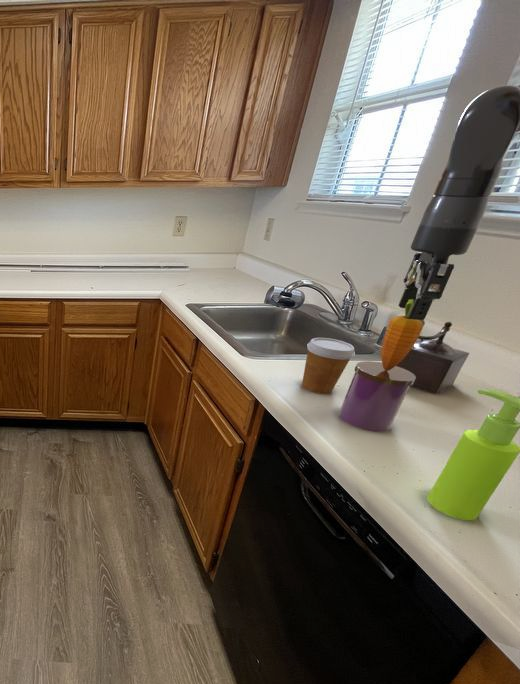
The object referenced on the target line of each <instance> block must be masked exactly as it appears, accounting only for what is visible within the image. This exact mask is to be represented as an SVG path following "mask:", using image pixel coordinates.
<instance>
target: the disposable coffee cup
mask: <svg viewBox="0 0 520 684" xmlns="http://www.w3.org/2000/svg"><path fill="white" fill-rule="evenodd" d="M306 347H307V352H306V353H307V354H306V359H305V365H304V371H303V376H302V382H301V387H303V388H304V389H305V390H307V391H310V392H312V393H316V394H322V395H327V394H328V395H329V394H331V393H332V392H333V390H334V388H335V387H336V385H337V383H338V381H339V380H340V378H341V376H342V374H343V372H344V370H345V369H346V367H347V366H348V364H349V362H350V360H351V359H352V358H353V357H354V356H355V355H356V353H355V347H354V346H353V345H352V344H351V343H348V342H346V341H343V340H339V339H335V338H328V337H314V338H311V340H310V341H309V342H308V343H307V344H306Z"/></svg>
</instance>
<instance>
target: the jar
mask: <svg viewBox="0 0 520 684" xmlns="http://www.w3.org/2000/svg"><path fill="white" fill-rule="evenodd" d="M415 379H416V376H415V375H414V374H413V373H411V372H410V371H408V370H405V369H403V368H400V367H397V366H395V367H394V368H392V369H391V370H388V371H385V370H384V368H383V365H382V361H369V360H367V361H366V360H365V361H364V360H363V361H359V362H357V363H356V364H355V367H354V374H353V377H352V379H351V382H350V385H349V387H348V388H347V392H346V394H345V397H344V400H343V402H342V405H341V407H340V410H339V412H338V416H339V418H340V419H341V420H342V421H344V422H345V423H347V424H349V425H351V426H353V427H356V428H358V429H362V430H365V431H370V432H376V433H383V432H388V431H389V430H390V429H391V427H392V425H393V423H394V422H395V419H396V416H397V415H398V412H399V410H400V408H401V406H402V404H403V402H404V400H405V398H406V396H407V393H408V391H409V389H410V387H411V386H410V385H412V384H413V383H414V381H415Z"/></svg>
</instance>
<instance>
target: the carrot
mask: <svg viewBox="0 0 520 684" xmlns="http://www.w3.org/2000/svg"><path fill="white" fill-rule="evenodd" d="M413 302H414V300H413V299H410V300H408V302H407V304H406V308H404V309H405V310H404V315H398V316H394V317H392V318H391V319H390V320H389V323H388V325H387V328H386V330H385V333H384V336H383V340H382V345H381V352H380V356H381V357H380V359H381V363H382V365H383V368H384V370H385V371H388V370H391V369H392V368H394V367H395V366H396V365H398V364H399V363H400V362H401V361H402V360H403V359H404V358H405V357H406V355H407V354H408V353H409V351H410V350H411V349H412V347H413V346H414V344H415V342H416V341H418V339H417V338H418V337H419V336H421V333H422V330H423V328H424V326H423V323H422V321H420V320H415V319H410V318H409V313H410V311H411V309H412V306H413Z"/></svg>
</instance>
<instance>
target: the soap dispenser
mask: <svg viewBox="0 0 520 684" xmlns="http://www.w3.org/2000/svg"><path fill="white" fill-rule="evenodd" d="M476 390H477V393H478V394H480V395H484V396H488V397H490V398H494V399H496V400H498V401H501V402H503V405H502V406H501V408H500V409H499V411H498V413H490V414H488V415H486V417H485V418H484V420H483V422H482V424H481V425H480V427H479V429H466V430H465V431H464V432H463V433H462V435H461V437H460V438H459V440H458V442H457V444H456V446H455V447H454V449H453V451H452V453H451V455H450V456H449V458H448V460H447V462H446V463H445V465H444V467H443V468H442V470H441V472H440V474H439V475H438V478H437V479H436V481H435V483H434V485H433V486H432V488H431V489H430V492H429V493H428V496H427V497H426V499H427V502H428V503H429V504H430V505H431V506H432V507H433V508H434V509H436V510H437V511H439V512H441V513H443V514H445V515H447V516H450V517H452V518H454V519H458V520H462V521H475V520H477V519H478V518H479V516H480V514H481V513H482V511H483V510H484V509H485V506H486V505H487V503H488V502H489V500H490V498H492V495H493V494H494V493H495V491H496V489H497V488H498V486H499V485H500V483H501V482H502V480H503V479H504V477H505V476H506V474H507V473H508V471H509V469H510V467H511V466H512V464H513V463H514V461H516V458H517V457H518V455H519V454H520V445H519V444H517V443H516V442H515V441H513V439H514V438H515V436H516V435H517V433H518V432H519V430H520V422H519V421H518V420H517V419H516V418H517V417H518V415H519V414H520V397H517V396H516V395H513V394H510V393H508V392H504V391H500V390H496V389H489V388H485V389H476Z"/></svg>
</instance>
